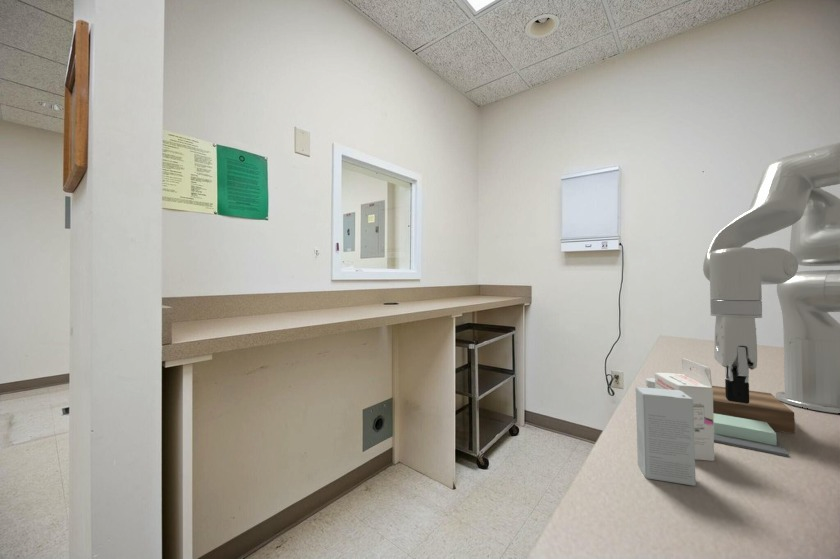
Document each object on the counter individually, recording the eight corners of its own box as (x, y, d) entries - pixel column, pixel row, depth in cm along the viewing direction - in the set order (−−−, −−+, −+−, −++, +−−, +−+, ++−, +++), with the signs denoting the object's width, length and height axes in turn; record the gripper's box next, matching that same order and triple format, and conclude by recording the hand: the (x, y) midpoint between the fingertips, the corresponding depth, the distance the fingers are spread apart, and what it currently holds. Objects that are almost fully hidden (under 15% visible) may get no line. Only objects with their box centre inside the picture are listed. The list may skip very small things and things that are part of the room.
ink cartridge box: (653, 435, 61) (652, 355, 61) (684, 438, 60) (683, 356, 60) (680, 459, 52) (678, 366, 53) (716, 462, 51) (714, 367, 52)
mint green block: (714, 422, 61) (714, 433, 61) (776, 433, 56) (776, 445, 56) (709, 412, 66) (709, 422, 66) (766, 422, 61) (766, 433, 61)
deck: (679, 397, 82) (679, 381, 82) (770, 411, 73) (770, 393, 73) (685, 415, 71) (685, 396, 71) (794, 434, 62) (794, 412, 62)
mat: (680, 415, 70) (680, 413, 70) (766, 430, 63) (766, 428, 63) (686, 436, 61) (686, 434, 61) (789, 457, 53) (789, 454, 53)
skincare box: (683, 471, 49) (681, 389, 49) (696, 487, 45) (695, 398, 45) (635, 463, 51) (634, 385, 51) (644, 478, 47) (643, 393, 47)
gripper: (704, 306, 75) (706, 388, 74) (717, 310, 62) (719, 408, 62) (750, 308, 71) (752, 394, 70) (774, 312, 58) (777, 417, 58)
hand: (737, 400), depth 66 cm, fingers closed
